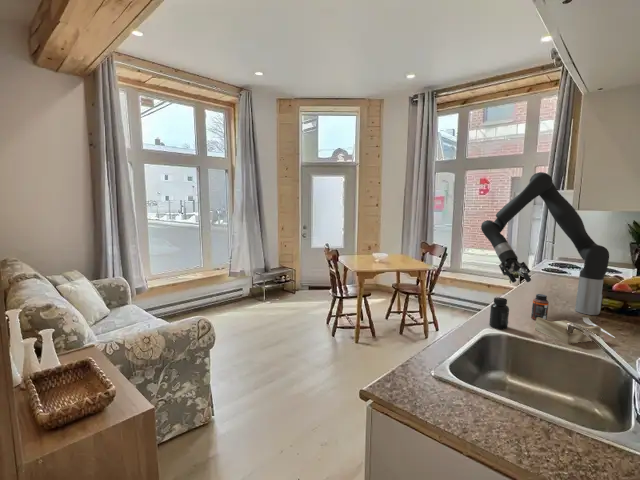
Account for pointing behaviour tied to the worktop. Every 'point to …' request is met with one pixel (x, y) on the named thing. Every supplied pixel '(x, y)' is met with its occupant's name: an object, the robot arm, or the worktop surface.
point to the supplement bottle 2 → (540, 307)
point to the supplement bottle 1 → (499, 313)
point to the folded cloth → (563, 331)
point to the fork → (595, 325)
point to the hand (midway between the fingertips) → (522, 281)
